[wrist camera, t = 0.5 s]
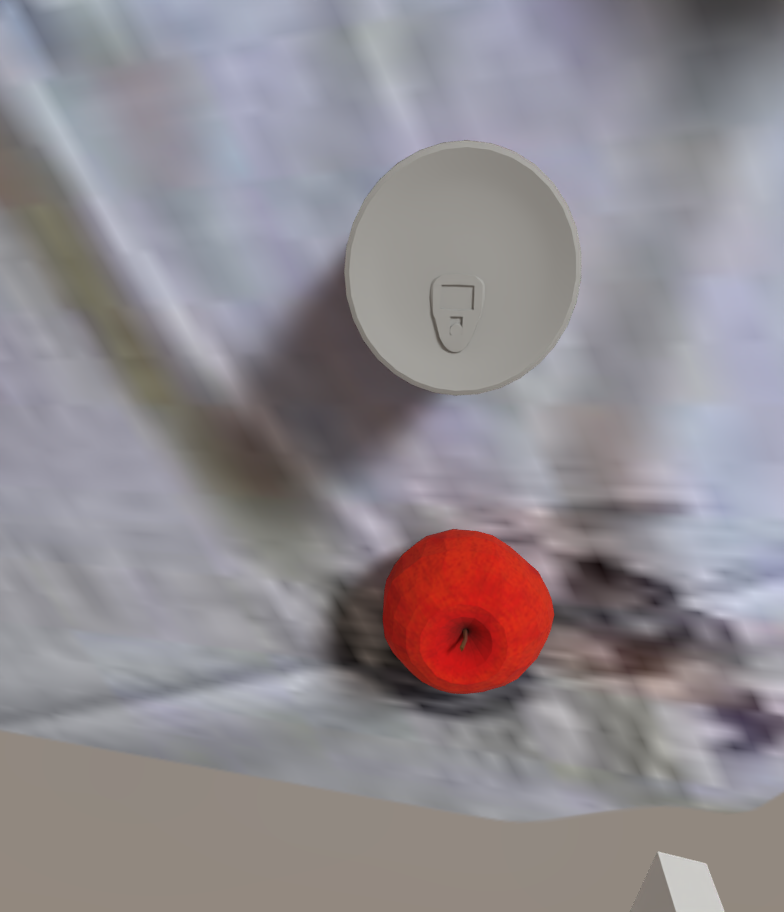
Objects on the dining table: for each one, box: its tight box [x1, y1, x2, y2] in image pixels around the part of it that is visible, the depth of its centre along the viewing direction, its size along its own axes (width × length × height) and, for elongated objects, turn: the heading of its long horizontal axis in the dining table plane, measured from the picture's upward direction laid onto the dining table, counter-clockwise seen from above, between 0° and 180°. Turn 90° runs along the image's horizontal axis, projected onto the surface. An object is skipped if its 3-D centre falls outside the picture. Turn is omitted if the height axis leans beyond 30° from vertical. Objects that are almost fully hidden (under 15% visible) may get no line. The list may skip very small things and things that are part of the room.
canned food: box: [344, 140, 581, 395], centre depth 29 cm, size 8×8×11 cm
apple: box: [383, 529, 554, 694], centre depth 35 cm, size 8×8×7 cm
